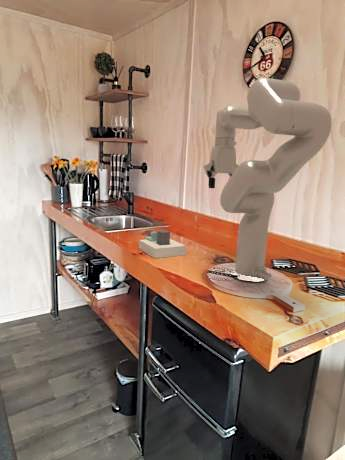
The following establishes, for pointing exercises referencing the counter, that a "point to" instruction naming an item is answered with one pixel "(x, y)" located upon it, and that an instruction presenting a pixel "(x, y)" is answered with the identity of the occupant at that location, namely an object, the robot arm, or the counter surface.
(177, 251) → the socket
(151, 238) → the shutter
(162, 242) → the dark grey upright block
